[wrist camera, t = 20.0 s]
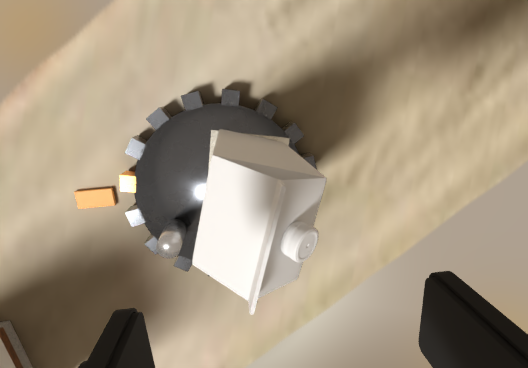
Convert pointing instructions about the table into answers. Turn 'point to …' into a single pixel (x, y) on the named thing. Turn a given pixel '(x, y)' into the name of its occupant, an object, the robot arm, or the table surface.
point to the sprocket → (189, 166)
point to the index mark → (95, 198)
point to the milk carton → (257, 215)
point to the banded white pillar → (11, 348)
